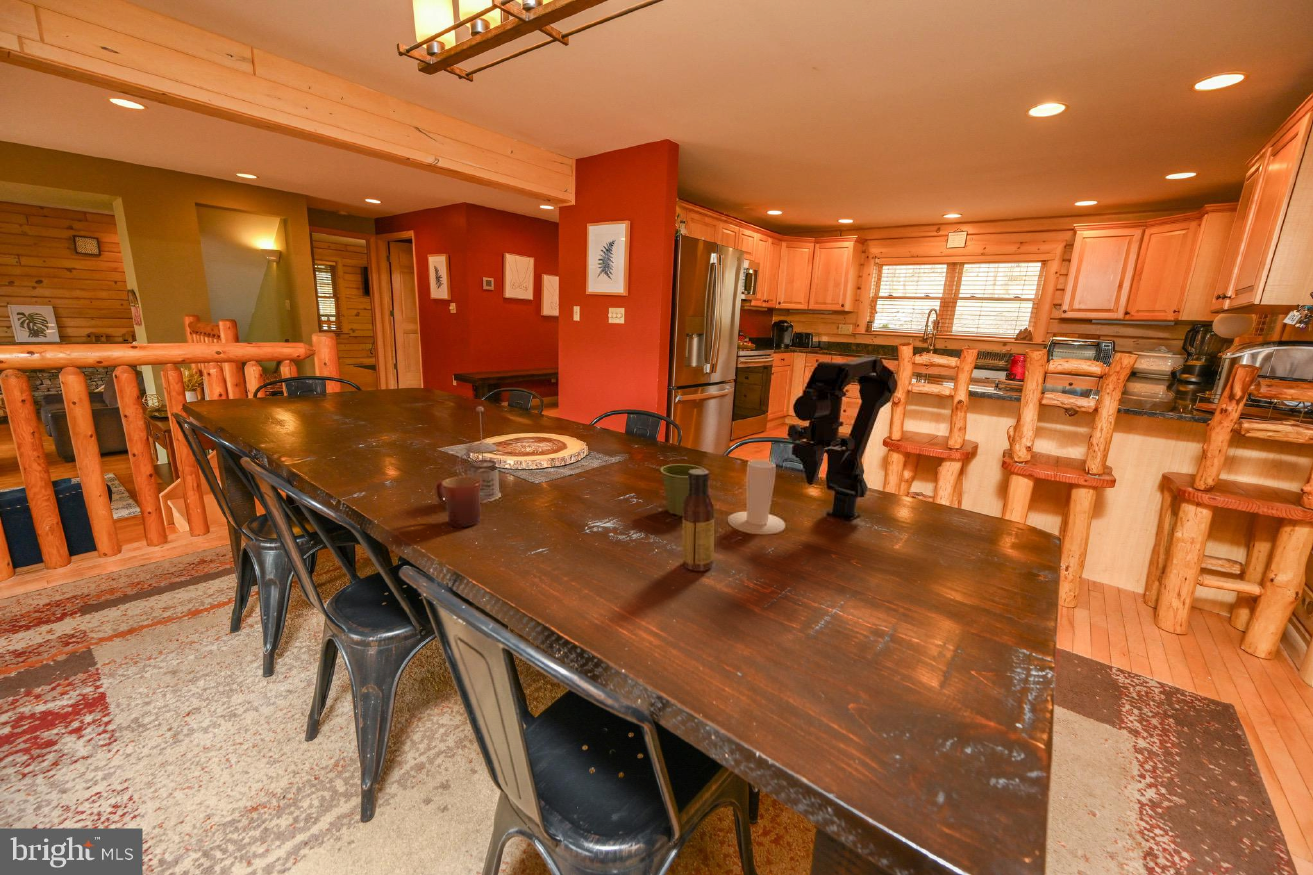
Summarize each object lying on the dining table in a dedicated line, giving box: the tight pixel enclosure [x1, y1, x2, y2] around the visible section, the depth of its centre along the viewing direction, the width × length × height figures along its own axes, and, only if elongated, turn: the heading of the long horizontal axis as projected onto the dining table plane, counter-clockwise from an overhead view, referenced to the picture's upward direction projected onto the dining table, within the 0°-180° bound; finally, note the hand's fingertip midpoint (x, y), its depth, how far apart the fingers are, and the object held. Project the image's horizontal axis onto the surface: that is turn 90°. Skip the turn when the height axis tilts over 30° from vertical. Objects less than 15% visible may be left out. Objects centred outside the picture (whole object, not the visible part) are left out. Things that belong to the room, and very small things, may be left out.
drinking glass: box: [745, 459, 776, 525], centre depth 122 cm, size 7×7×15 cm
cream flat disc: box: [727, 510, 786, 536], centre depth 124 cm, size 14×14×1 cm
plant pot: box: [660, 463, 706, 517], centre depth 128 cm, size 12×12×11 cm
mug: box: [435, 475, 483, 529], centre depth 117 cm, size 12×9×10 cm
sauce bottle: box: [681, 468, 715, 572], centre depth 98 cm, size 7×6×20 cm
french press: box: [455, 406, 502, 502], centre depth 132 cm, size 10×12×25 cm
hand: (820, 480), depth 119 cm, fingers open, 9 cm apart
